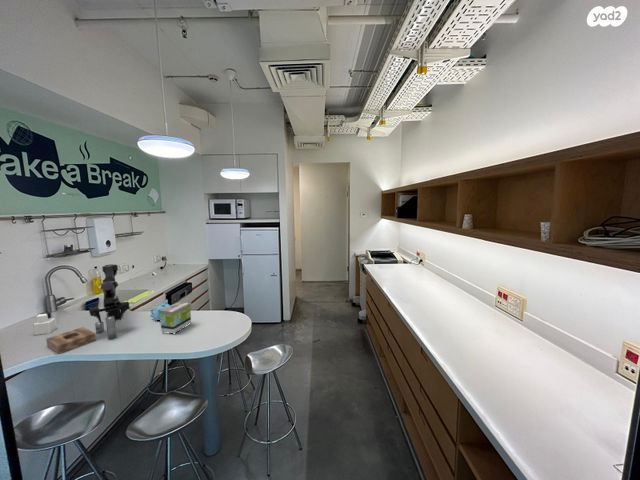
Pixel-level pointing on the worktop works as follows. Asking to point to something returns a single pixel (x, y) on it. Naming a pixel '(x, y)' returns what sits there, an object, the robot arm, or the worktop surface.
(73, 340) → the plate
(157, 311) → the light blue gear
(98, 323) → the short pin
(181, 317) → the tea box
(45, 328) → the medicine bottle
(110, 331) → the long pin
